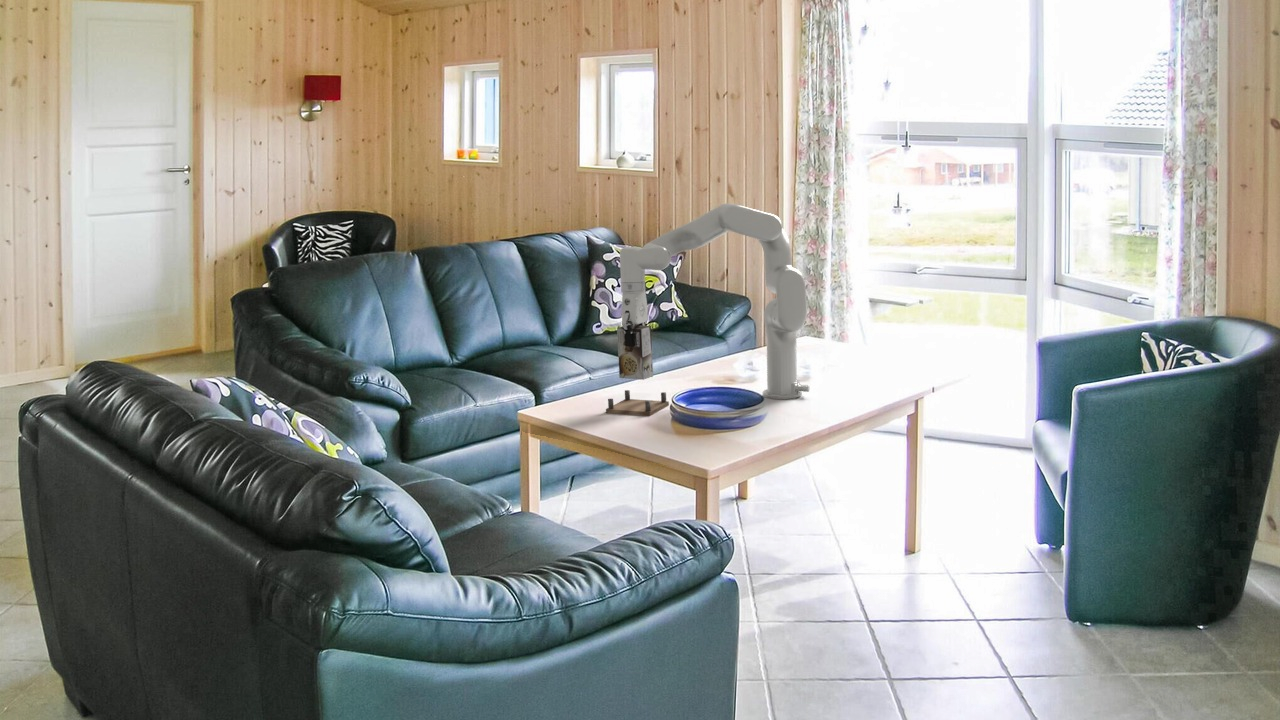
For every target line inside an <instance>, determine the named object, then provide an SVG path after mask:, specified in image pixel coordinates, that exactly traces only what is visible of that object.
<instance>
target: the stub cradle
mask: <svg viewBox="0 0 1280 720" xmlns="http://www.w3.org/2000/svg"><path fill="white" fill-rule="evenodd" d="M630 392H631V391H630V390H628V389H626V390H624V399H622V400H620V401H619V402H617V403H615V404H614V398H607V403H608V404H607V405H608V406H607V408H606V409H605V413H606V414H615V415H616V414H617V415H630V416H631V415H633V416H645V417H646V416H647V417H651V416H652V415H654V414H656V413H658V412H660V411H662V410H663V409H664V408H666V407H668V406H669V405H670V401H667V392H664V391H663V392H660V399H661V400H652V399H651V400H650V399H633V398H631V393H630Z"/></svg>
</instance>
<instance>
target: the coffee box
mask: <svg viewBox="0 0 1280 720" xmlns="http://www.w3.org/2000/svg"><path fill="white" fill-rule="evenodd" d="M630 328H631V326H630ZM634 334H635V346H634V347H632V346H625V334H624V329H623V325H622V326H620V327H617V328H616V335H617V351H618V352H617V353H618V354H617V355H618V373H619V374H618V375H619V379H627V380H641V381H642V380H646V379H647V380H648V379H650V378H653V377H654V368H653V365H654V364H653V347H652V346H653V343H652V341H653V340H652V325H645V326H641V325H635V326H634Z"/></svg>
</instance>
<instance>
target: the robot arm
mask: <svg viewBox="0 0 1280 720" xmlns="http://www.w3.org/2000/svg"><path fill="white" fill-rule="evenodd" d="M729 232H732V233H735V234H738V235H742V236H744V237H745V236H746V237H750V238H752V239H755V240H757V241H758V242H759V244H760V245H761V248H762V251H763V257H764V271H765V273H764V274H765V275H764V276H765V286H766V288H767V290H768V291H769V292H771V293H772V294H774V295H776V298H773V299H771V300H770V301H769V302H768V303H766V306H765V308H764V313H763V320H764V327H765V334H766V335H765V336H766V376H767V378H766V382H767V383H766V384H767V389H764V390H763V391H762V396H763V397H764V398H767V399H771V400H772V399H773V400H788V399H789V400H791V399H796V398H800V397H801V396H802V395H803V394H802V393H804V392H805V393H808V392H809V393H810V390H811V389H810V385H808V384H801V383H800V380H797V379H798V373H797V372H798V370H797V369H798V368H797V364H798V363H797V335H796V334H797V333H796V332H797V331H800V330H801V329H802V328H803V326H804V325H805V323H806V321H807V293H806V283H805V282H806V281H805V278H804V276H803V274H802V273H801V271H799V270H798V269H796V268H795V267H793V259H792V250H791V249H792V248H791V244H790V240H789V238H788V236H787V233H786V232H785V230H784V228H783V223H782V221H781V219H780V217H778V215H775V214H773V213H768V212H764V211H761V210H757V209H753V208H749V207H747V206H743V205H741V204H737V203H730V202H728V203H727V202H726V203H722V204H720V205H718V206H717V207H715V208H712V209H711V210H709V211H708V212H706V213H703V214H702V215H700V216H699V217H697V218H695V219H693V220H692V221H689V222H688V223H685V224H684V225H681V226H678V227H677V228H675V229H672V230H670V231H667V232H666V233H663V234H661V235H660V236H657V237H656V238H654V239H653V240H651V241H649V242H647V243H646V244H645V245H643V247H640V246H625V247H622V248H621V249H620V250H619V269H620V293H622V297H621V320H622V321H621V325H622V326H623V329H624V334H625V346H632V347H634V346H635V334H634V326H635V325H641V326H646V325H645V324H646V322H647V321H648V320H649V315H648V301H647V295H646V271H645V270H650V271H662V270H664V269H666V268H668V267H669V265H670V264H671V262H672V257H673V256H675V255H677V254H680V253H683V252H685V251H690V250H692V251H693V250H697V249H699V248H702V247H704V246H706V245H708V244H711V242H713V241H715V240H717V239H718V238H720V237H722V236H724V235H726V234H728V233H729ZM630 326H631V328H630Z"/></svg>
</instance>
